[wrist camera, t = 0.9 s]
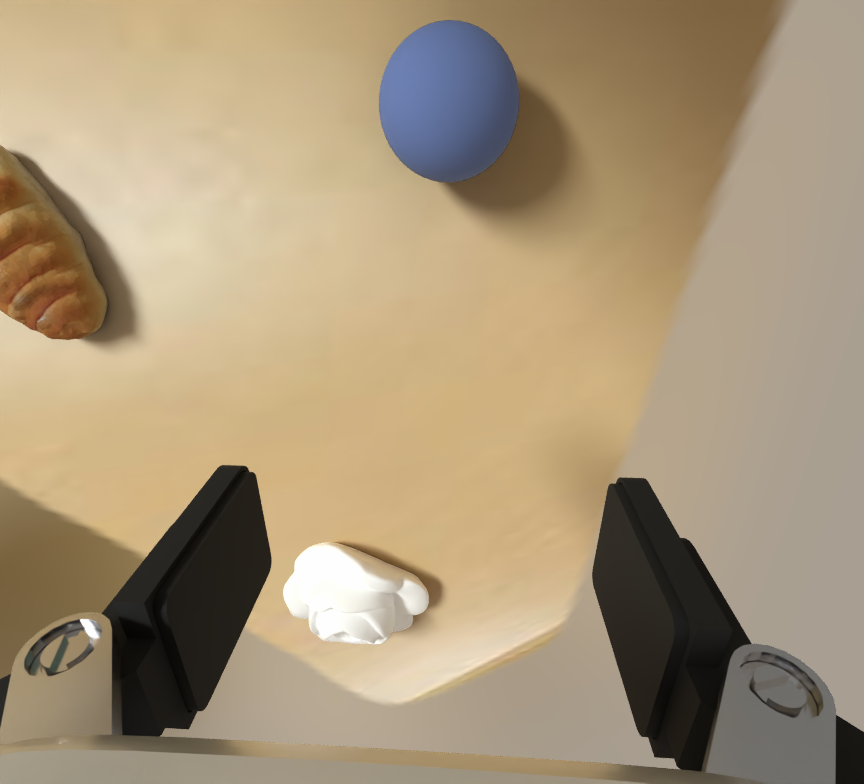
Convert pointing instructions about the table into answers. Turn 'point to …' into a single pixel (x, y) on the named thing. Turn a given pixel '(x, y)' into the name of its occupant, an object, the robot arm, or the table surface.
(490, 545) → the table surface
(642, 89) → the table surface
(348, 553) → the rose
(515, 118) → the ball
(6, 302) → the pastry
